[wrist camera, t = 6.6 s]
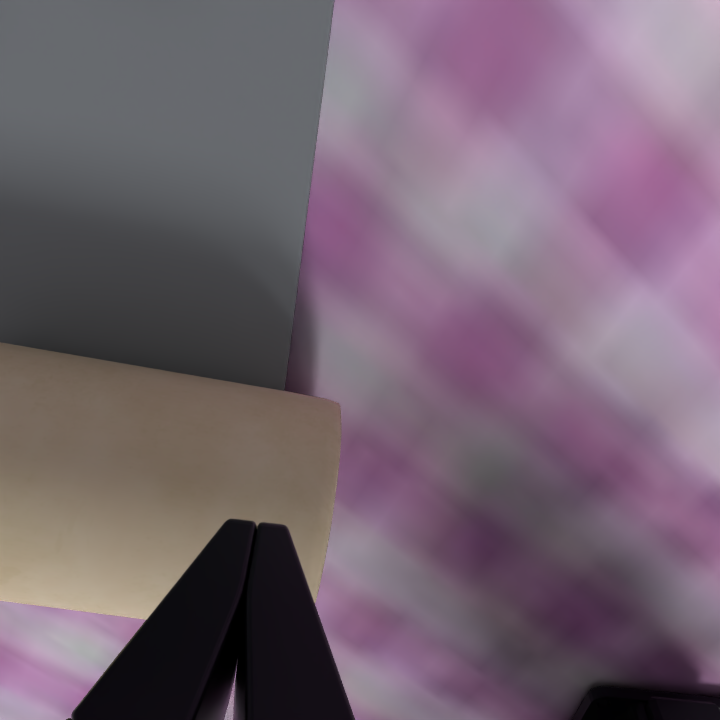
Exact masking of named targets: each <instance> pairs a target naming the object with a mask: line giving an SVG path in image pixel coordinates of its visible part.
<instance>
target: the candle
mask: <svg viewBox="0 0 720 720" xmlns="http://www.w3.org/2000/svg"><path fill="white" fill-rule="evenodd" d="M340 446H341V410H340V405H339V403H337V402H334V401H331V400H328V399H324V398H319V397H314V396H309V395H304V394H298V393H293V392H287V391H282V390H276V389H270V388H264V387H258V386H252V385H247V384H241V383H235V382H229V381H223V380H217V379H212V378H206V377H200V376H194V375H188V374H182V373H177V372H171V371H165V370H159V369H153V368H147V367H142V366H136V365H130V364H124V363H118V362H112V361H106V360H101V359H95V358H89V357H83V356H77V355H71V354H66V353H60V352H54V351H48V350H42V349H36V348H31V347H25V346H19V345H13V344H7V343H1V342H0V601H7V602H15V603H23V604H30V605H38V606H46V607H53V608H61V609H69V610H76V611H84V612H92V613H99V614H107V615H115V616H122V617H130V618H138V619H145V620H147V618H148V617H149V616H150V615H151V613H152V612H153V611H154V610H155V608H156V607H157V606H158V605H159V603H160V602H161V601H162V600H163V598H164V597H165V596H166V595H167V593H168V592H169V591H170V590H171V588H172V587H173V586H174V585H175V583H176V582H177V581H178V580H179V578H180V577H181V576H182V575H183V573H184V572H185V571H186V570H187V568H188V567H189V566H190V565H191V563H192V562H193V561H194V560H195V558H196V557H197V556H198V555H199V553H200V552H201V551H202V550H203V548H204V547H205V546H206V545H207V543H208V542H209V541H210V540H211V538H212V537H213V536H214V535H215V533H216V532H217V531H218V530H219V528H220V527H221V526H222V525H223V524H224V522H225V521H227V520H228V519H241V520H250V521H254V522H255V523H256V525H257V526H258V524H259V523H261V522H267V523H276V524H283V525H286V526H287V527H288V529H289V531H290V534H291V537H292V540H293V543H294V546H295V548H296V551H297V554H298V557H299V560H300V563H301V566H302V569H303V571H304V574H305V577H306V580H307V583H308V586H309V589H310V592H311V594H312V597H313V600H314V603H315V602H316V598H317V594H318V590H319V586H320V581H321V576H322V572H323V567H324V562H325V557H326V551H327V546H328V540H329V534H330V528H331V522H332V515H333V509H334V502H335V494H336V487H337V478H338V469H339V459H340Z"/></svg>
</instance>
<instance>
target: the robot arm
mask: <svg viewBox="0 0 720 720" xmlns="http://www.w3.org/2000/svg"><path fill="white" fill-rule="evenodd" d="M236 668H237V671H236ZM235 673H236V680H235V693H234V714H233V720H355V718H354V715H353V712H352V709H351V707H350V704H349V701H348V698H347V695H346V692H345V689H344V686H343V684H342V681H341V678H340V675H339V672H338V669H337V666H336V663H335V661H334V658H333V655H332V652H331V649H330V646H329V643H328V640H327V638H326V635H325V632H324V629H323V626H322V623H321V620H320V617H319V615H318V612H317V609H316V606H315V603H314V600H313V597H312V594H311V592H310V589H309V586H308V583H307V580H306V577H305V574H304V571H303V569H302V566H301V563H300V560H299V557H298V554H297V551H296V548H295V546H294V543H293V540H292V537H291V534H290V531H289V529H288V527H287V526H286V525H283V524H276V523H267V522H261V523H259V524H258V526H257V525H256V523H255V522H254V521H250V520H241V519H228V520H227V521H225V522H224V524H223V525H222V526H221V527H220V528H219V530H218V531H217V532H216V533H215V535H214V536H213V537H212V538H211V540H210V541H209V542H208V543H207V545H206V546H205V547H204V548H203V550H202V551H201V552H200V553H199V555H198V556H197V557H196V558H195V560H194V561H193V562H192V563H191V565H190V566H189V567H188V568H187V570H186V571H185V572H184V573H183V575H182V576H181V577H180V578H179V580H178V581H177V582H176V583H175V585H174V586H173V587H172V588H171V590H170V591H169V592H168V593H167V595H166V596H165V597H164V598H163V600H162V601H161V602H160V603H159V605H158V606H157V607H156V608H155V610H154V611H153V612H152V613H151V615H150V616H149V617H148V618H147V620H146V621H145V622H144V623H143V625H142V626H141V627H140V628H139V630H138V631H137V632H136V633H135V635H134V636H133V637H132V638H131V640H130V641H129V642H128V643H127V645H126V646H125V647H124V648H123V650H122V651H121V652H120V653H119V655H118V656H117V657H116V658H115V660H114V661H113V662H112V663H111V665H110V666H109V667H108V668H107V670H106V671H105V672H104V673H103V675H102V676H101V677H100V678H99V680H98V681H97V682H96V683H95V685H94V686H93V687H92V688H91V690H90V691H89V692H88V693H87V695H86V696H85V697H84V698H83V700H82V701H81V702H80V703H79V705H78V706H77V707H76V708H75V710H74V711H73V712H72V715H71V716H72V719H71V718H68V719H66V720H224V717H225V714H226V710H227V706H228V703H229V699H230V695H231V691H232V687H233V683H234V678H235ZM572 720H720V698H717V697H707V696H697V695H687V694H677V693H667V692H657V691H647V690H637V689H627V688H617V687H607V686H600V687H596V688H593V689H591V690H590V691H589V692H588V693H587V695H586V697H585V698H584V700H583V702H582V704H581V705H580V707H579V709H578V710H577V712H576V714H575V716H574V717H573V719H572Z"/></svg>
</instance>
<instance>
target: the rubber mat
mask: <svg viewBox="0 0 720 720" xmlns="http://www.w3.org/2000/svg"><path fill="white" fill-rule="evenodd" d="M333 7H334V0H0V342H1V343H7V344H13V345H19V346H25V347H31V348H36V349H42V350H48V351H54V352H60V353H66V354H71V355H77V356H83V357H89V358H95V359H101V360H106V361H112V362H118V363H124V364H130V365H136V366H142V367H147V368H153V369H159V370H165V371H171V372H177V373H182V374H188V375H194V376H200V377H206V378H212V379H217V380H223V381H229V382H235V383H241V384H247V385H252V386H258V387H264V388H270V389H276V390H282V391H285V383H286V375H287V367H288V359H289V351H290V344H291V336H292V328H293V320H294V312H295V304H296V297H297V289H298V281H299V273H300V265H301V257H302V250H303V242H304V234H305V226H306V218H307V211H308V203H309V195H310V187H311V179H312V171H313V164H314V156H315V148H316V140H317V132H318V124H319V117H320V109H321V101H322V93H323V85H324V77H325V70H326V62H327V54H328V46H329V38H330V30H331V23H332V15H333Z"/></svg>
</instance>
